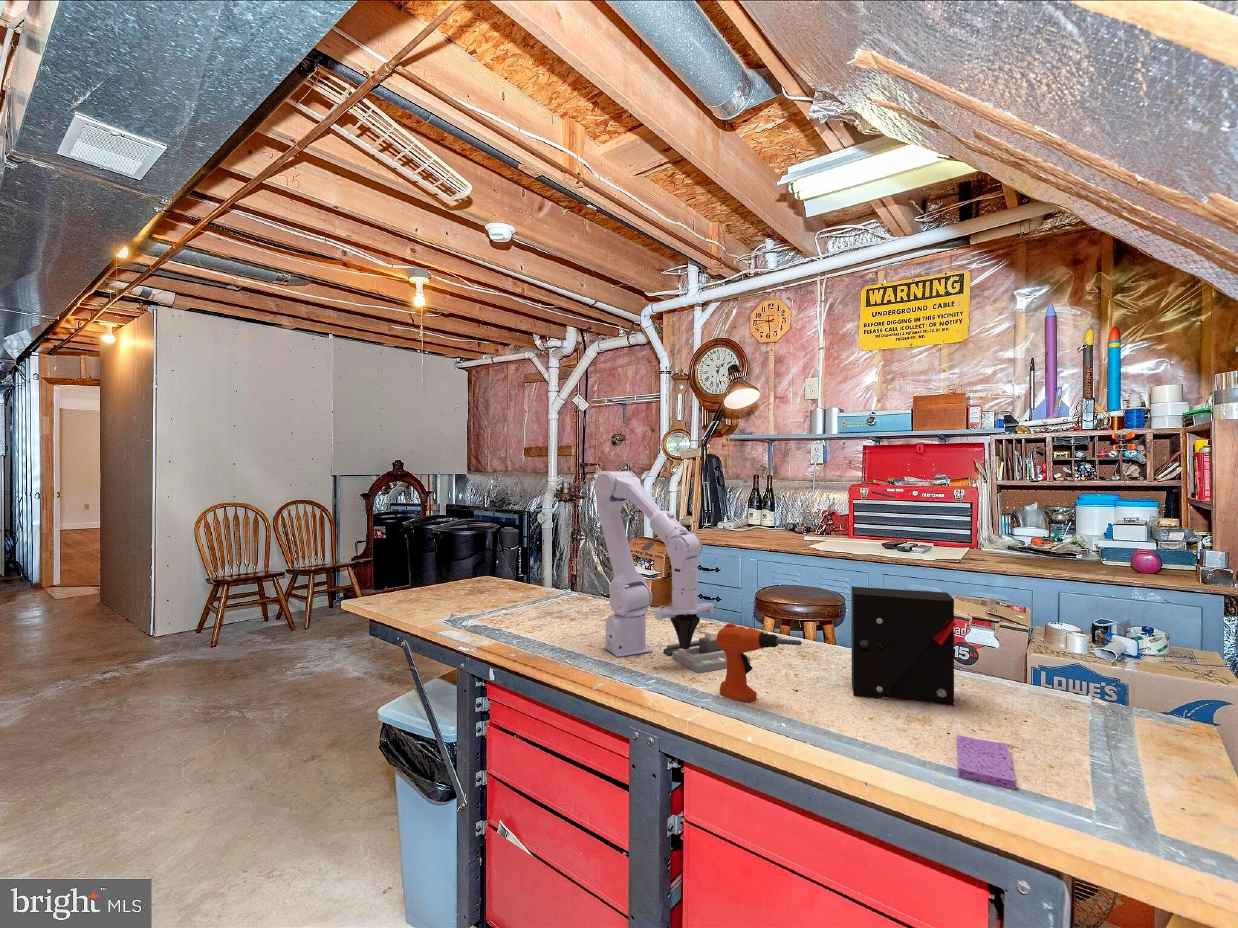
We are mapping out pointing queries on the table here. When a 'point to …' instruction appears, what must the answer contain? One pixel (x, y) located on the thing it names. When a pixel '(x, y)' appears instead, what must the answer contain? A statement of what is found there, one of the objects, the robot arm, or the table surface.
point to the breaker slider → (708, 643)
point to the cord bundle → (678, 647)
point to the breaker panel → (701, 659)
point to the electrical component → (903, 645)
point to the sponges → (985, 762)
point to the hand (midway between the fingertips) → (684, 647)
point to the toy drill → (743, 657)
